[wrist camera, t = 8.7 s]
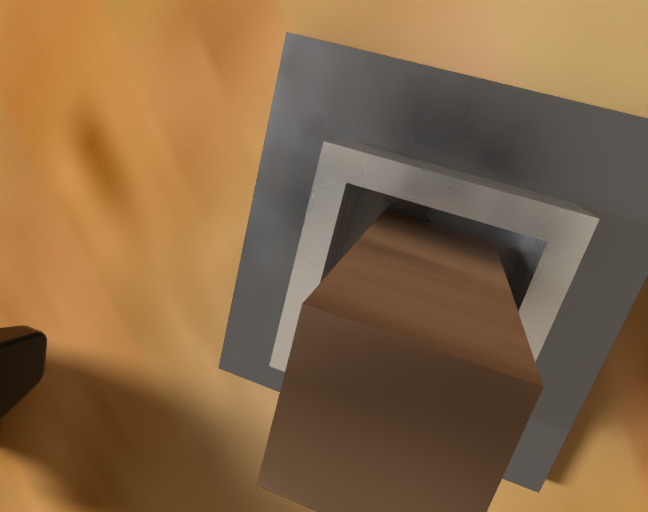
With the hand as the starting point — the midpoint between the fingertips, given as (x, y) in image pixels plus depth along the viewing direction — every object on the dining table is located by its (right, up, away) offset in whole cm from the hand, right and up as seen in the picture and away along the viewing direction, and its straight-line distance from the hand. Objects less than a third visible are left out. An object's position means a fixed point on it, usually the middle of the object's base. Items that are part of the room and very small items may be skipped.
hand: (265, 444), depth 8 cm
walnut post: (+5, +2, +10) cm, 11 cm away
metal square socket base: (+5, +3, +11) cm, 12 cm away
